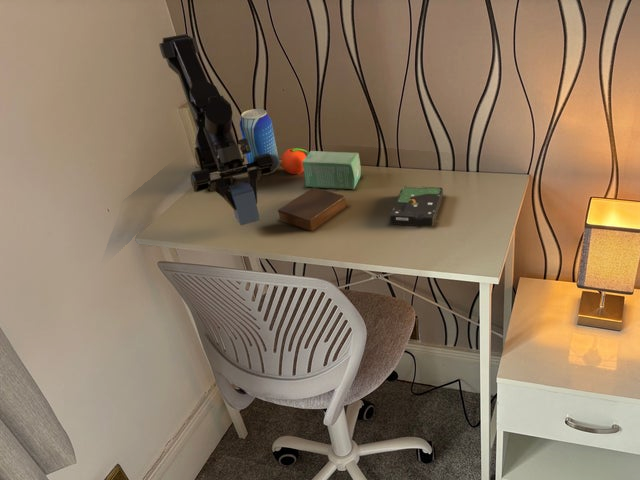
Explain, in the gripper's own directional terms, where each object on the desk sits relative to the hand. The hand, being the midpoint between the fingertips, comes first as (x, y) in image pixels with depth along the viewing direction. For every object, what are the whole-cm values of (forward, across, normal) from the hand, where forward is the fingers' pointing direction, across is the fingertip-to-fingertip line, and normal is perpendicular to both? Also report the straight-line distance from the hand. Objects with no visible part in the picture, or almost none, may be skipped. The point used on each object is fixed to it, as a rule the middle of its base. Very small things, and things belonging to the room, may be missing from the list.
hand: (245, 206), depth 141 cm
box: (-4, +26, +14) cm, 30 cm away
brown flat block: (+5, +16, +5) cm, 17 cm away
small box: (+2, 0, +4) cm, 4 cm away
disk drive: (+14, +38, -3) cm, 40 cm away
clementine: (-12, +20, +22) cm, 33 cm away
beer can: (-17, +13, +28) cm, 35 cm away
